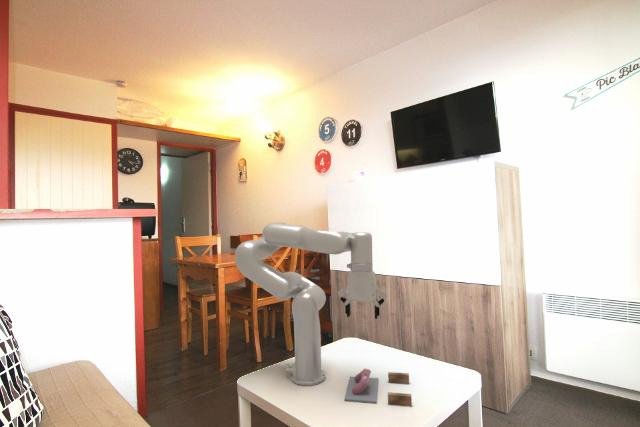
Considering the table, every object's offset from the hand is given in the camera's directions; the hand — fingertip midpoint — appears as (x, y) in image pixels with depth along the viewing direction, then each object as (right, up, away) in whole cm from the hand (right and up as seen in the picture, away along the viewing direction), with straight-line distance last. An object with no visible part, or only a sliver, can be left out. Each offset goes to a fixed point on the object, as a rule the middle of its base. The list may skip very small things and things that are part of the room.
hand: (362, 316), depth 119 cm
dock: (+11, -23, -7) cm, 26 cm away
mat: (-1, -23, -5) cm, 24 cm away
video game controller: (-1, -23, -5) cm, 23 cm away
